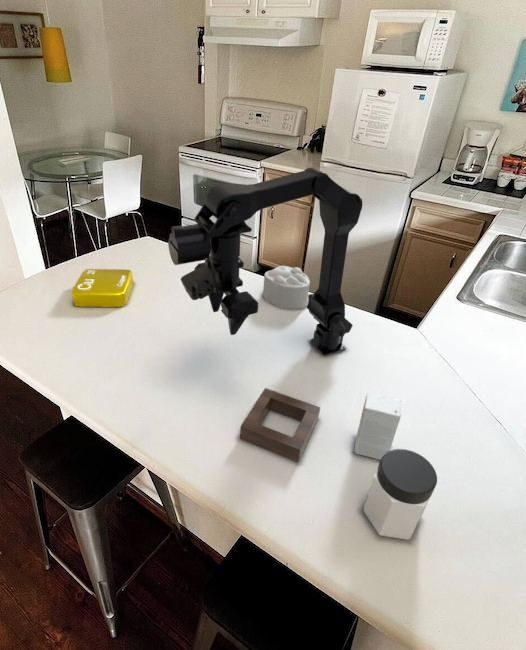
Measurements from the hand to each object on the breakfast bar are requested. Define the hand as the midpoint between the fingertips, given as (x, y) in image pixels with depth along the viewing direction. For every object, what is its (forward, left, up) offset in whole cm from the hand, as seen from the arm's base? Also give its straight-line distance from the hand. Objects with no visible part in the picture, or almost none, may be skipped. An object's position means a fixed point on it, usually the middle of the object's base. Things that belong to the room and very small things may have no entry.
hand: (224, 322), depth 93 cm
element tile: (+19, -46, -15) cm, 52 cm away
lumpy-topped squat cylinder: (-30, -24, -15) cm, 41 cm away
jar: (-12, +43, -15) cm, 47 cm away
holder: (-4, +19, -15) cm, 24 cm away
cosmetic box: (-18, +30, -15) cm, 38 cm away
